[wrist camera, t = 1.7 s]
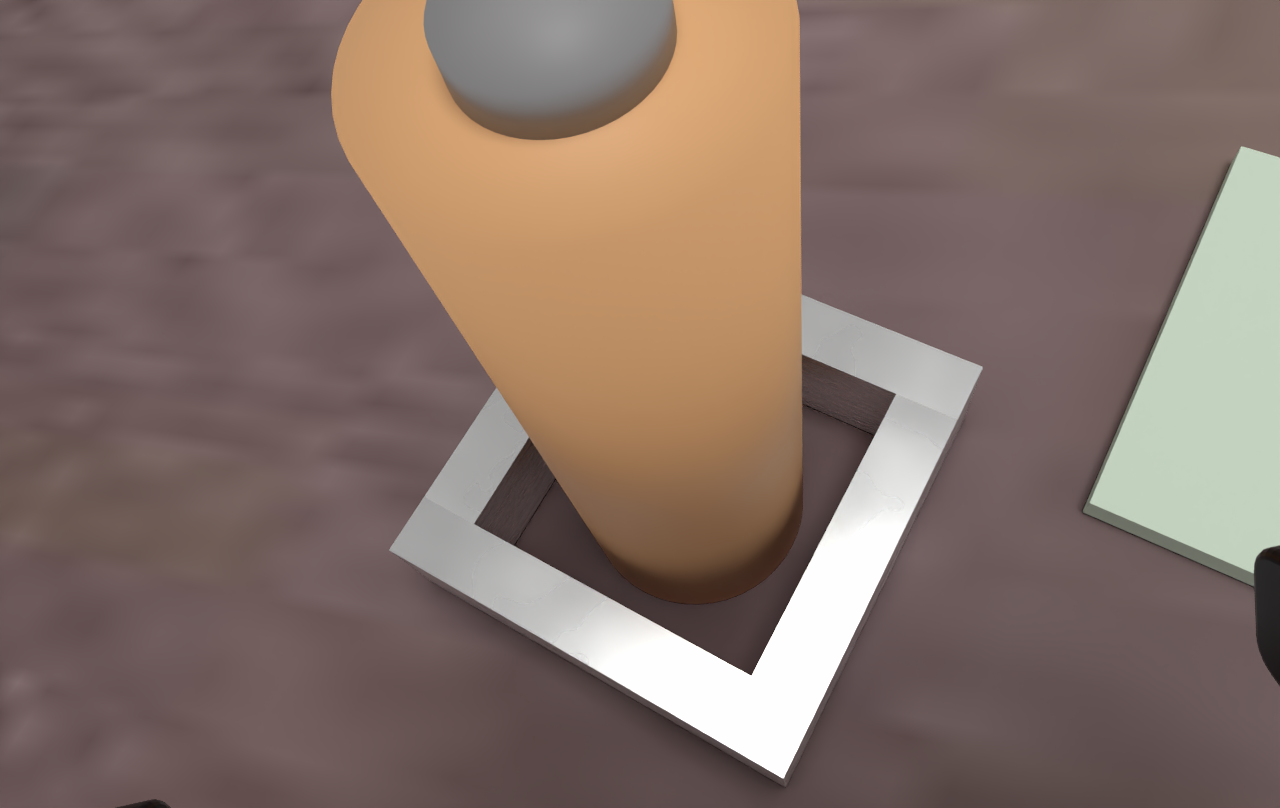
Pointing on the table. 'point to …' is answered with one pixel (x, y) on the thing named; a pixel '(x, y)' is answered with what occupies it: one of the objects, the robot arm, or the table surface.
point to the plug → (610, 249)
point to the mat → (1210, 394)
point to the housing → (823, 601)
